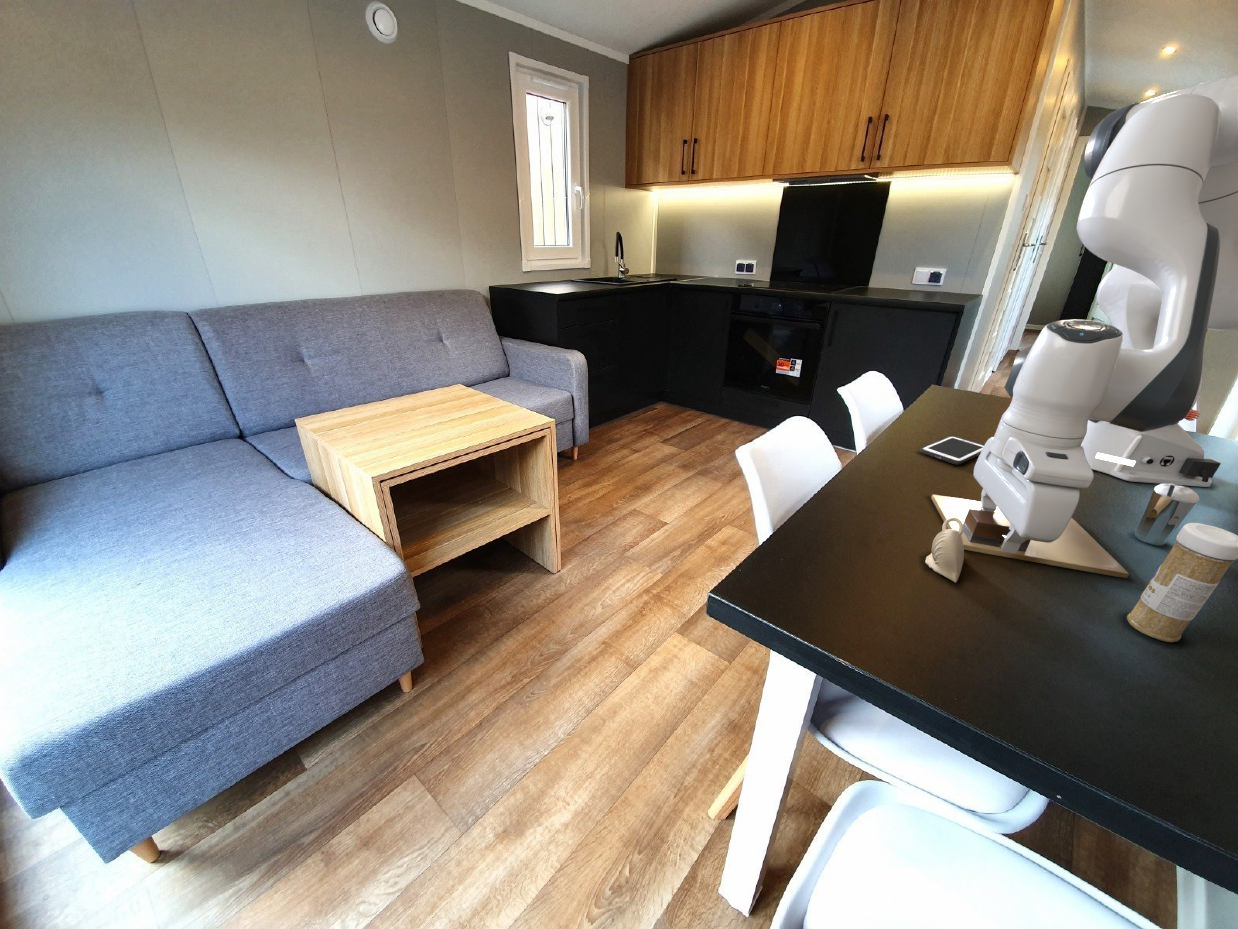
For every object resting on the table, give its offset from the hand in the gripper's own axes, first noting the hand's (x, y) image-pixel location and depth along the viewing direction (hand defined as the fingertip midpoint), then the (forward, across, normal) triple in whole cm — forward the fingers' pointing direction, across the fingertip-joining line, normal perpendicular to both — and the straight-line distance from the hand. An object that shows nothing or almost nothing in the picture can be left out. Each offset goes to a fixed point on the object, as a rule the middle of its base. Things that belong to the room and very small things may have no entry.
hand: (995, 533), depth 71 cm
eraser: (+1, 0, 0) cm, 1 cm away
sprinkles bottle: (+2, +14, +12) cm, 19 cm away
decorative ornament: (+2, +8, -8) cm, 12 cm away
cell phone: (+2, -38, +5) cm, 38 cm away
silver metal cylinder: (+2, -10, +24) cm, 26 cm away
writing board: (+2, -5, +5) cm, 7 cm away
